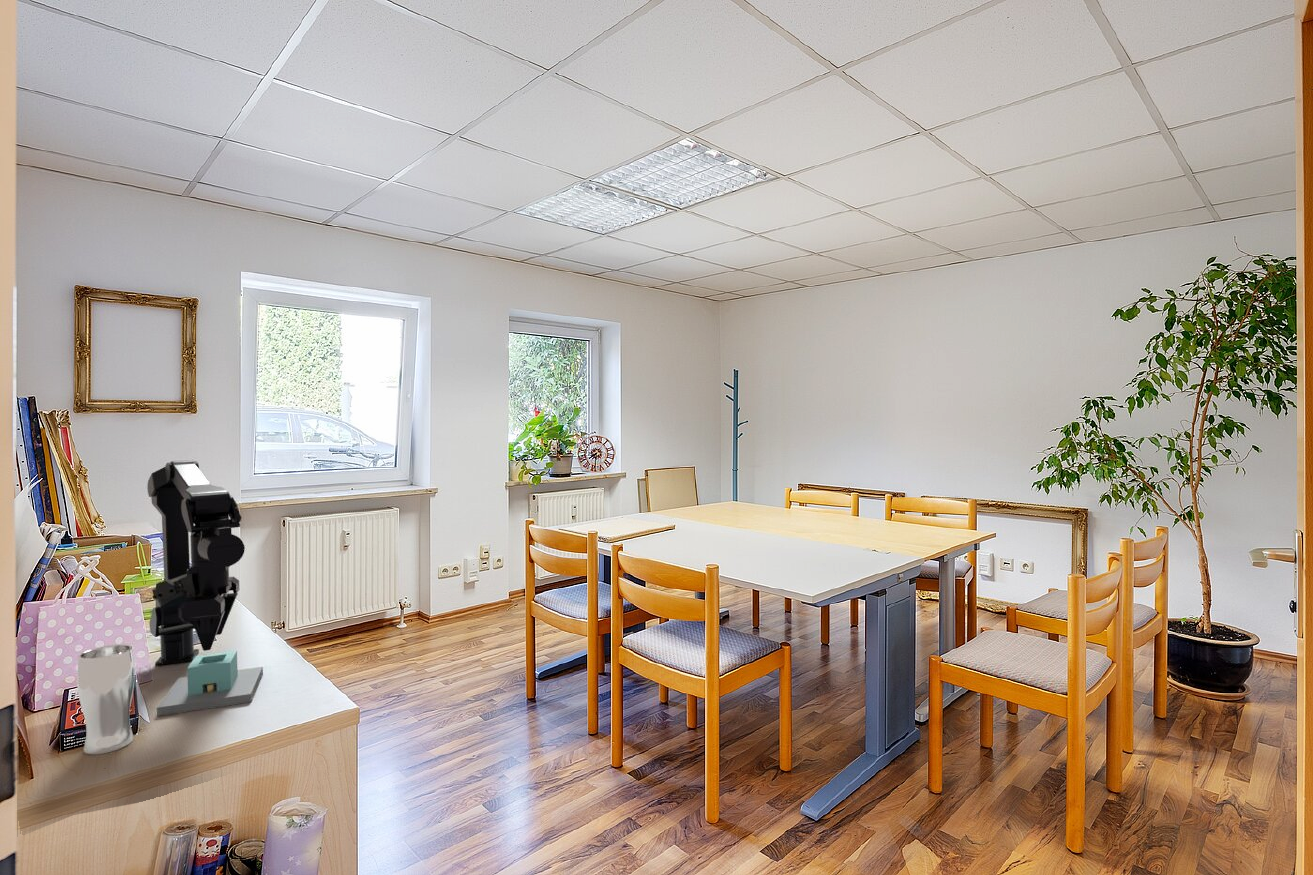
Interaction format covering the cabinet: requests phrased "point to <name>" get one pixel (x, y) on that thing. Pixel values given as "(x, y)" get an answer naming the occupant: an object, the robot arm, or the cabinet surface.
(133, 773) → the cabinet surface
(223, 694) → the base
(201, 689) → the collar
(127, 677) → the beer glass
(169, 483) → the robot arm
